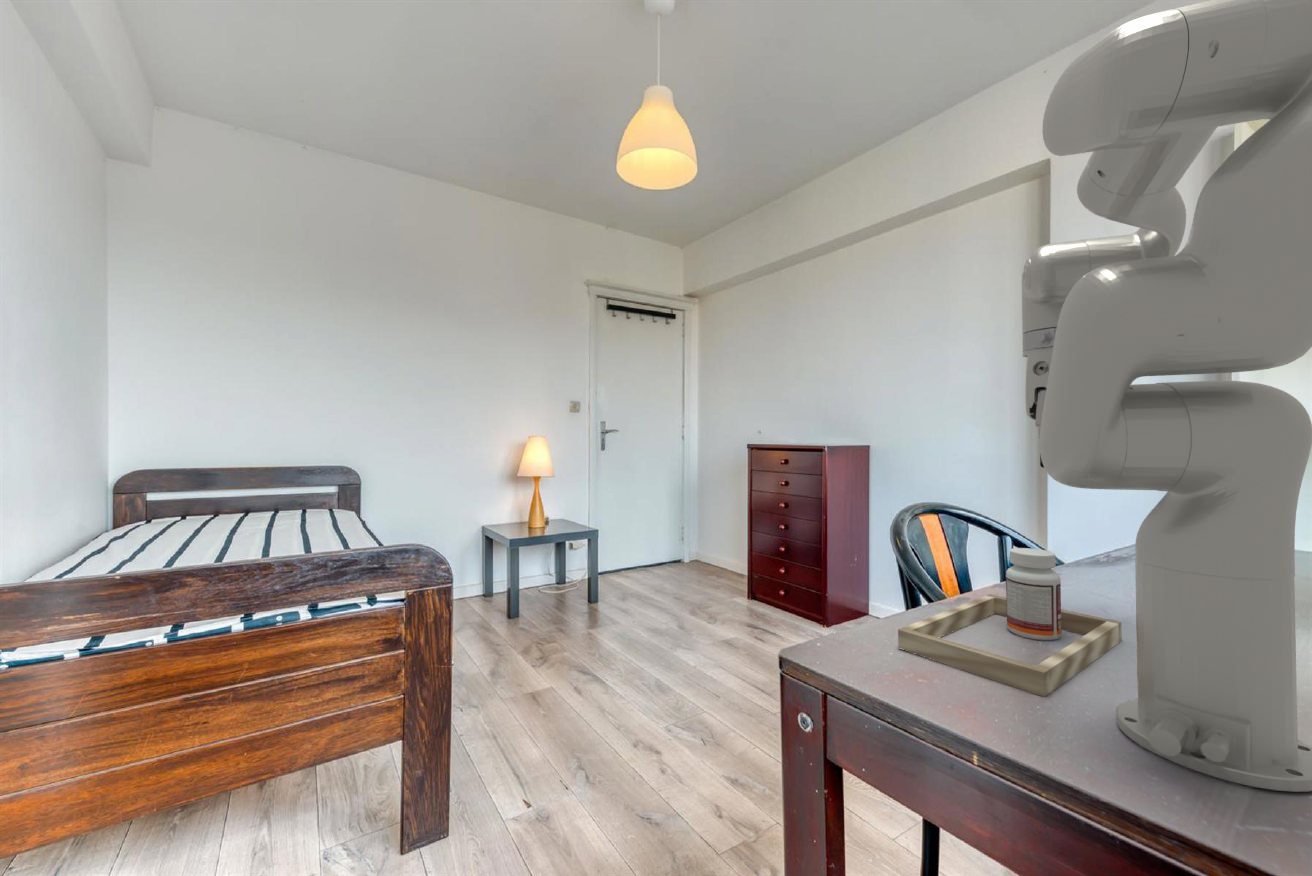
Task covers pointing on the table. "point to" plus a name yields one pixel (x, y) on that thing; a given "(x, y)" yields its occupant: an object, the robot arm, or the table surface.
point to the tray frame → (1005, 670)
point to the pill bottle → (1033, 594)
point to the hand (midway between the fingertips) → (1054, 467)
